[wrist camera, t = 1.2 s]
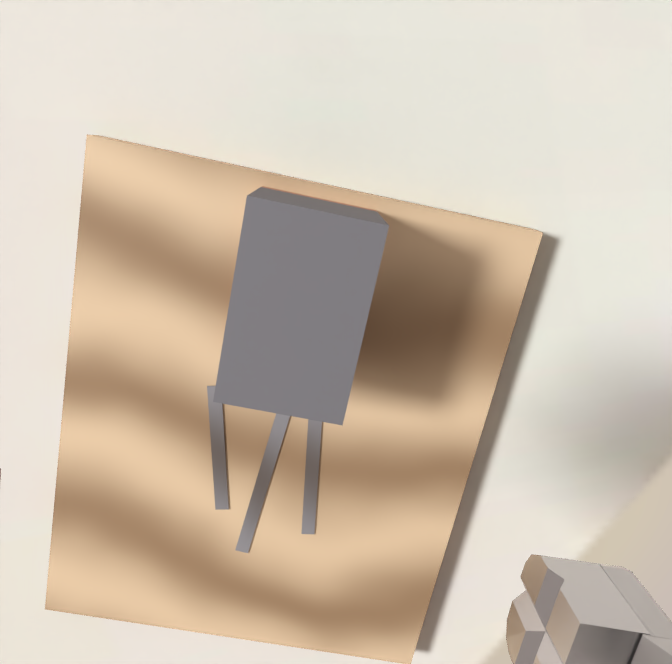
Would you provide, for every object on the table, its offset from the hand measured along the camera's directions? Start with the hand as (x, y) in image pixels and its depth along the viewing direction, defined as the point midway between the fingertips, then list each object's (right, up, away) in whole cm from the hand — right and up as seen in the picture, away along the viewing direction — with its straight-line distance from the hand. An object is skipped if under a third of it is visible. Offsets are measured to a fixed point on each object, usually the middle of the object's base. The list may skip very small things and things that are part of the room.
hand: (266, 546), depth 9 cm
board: (-2, -1, +18) cm, 18 cm away
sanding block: (0, +5, +15) cm, 16 cm away
